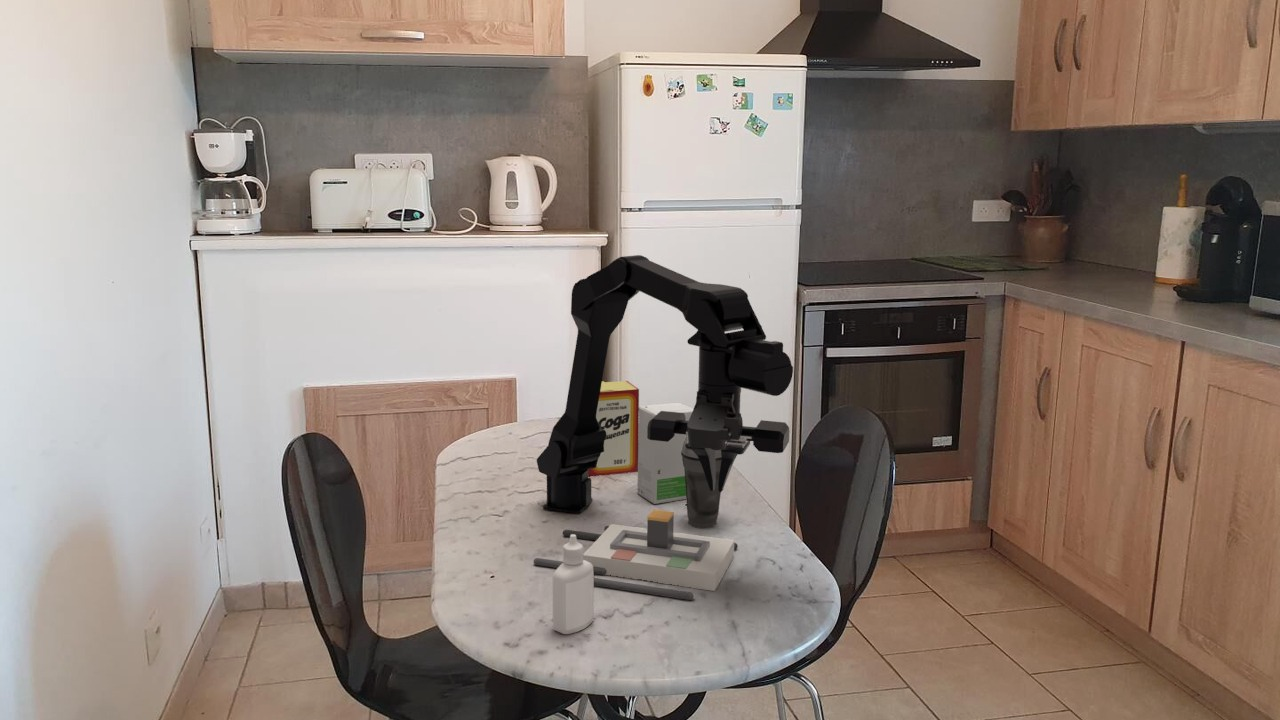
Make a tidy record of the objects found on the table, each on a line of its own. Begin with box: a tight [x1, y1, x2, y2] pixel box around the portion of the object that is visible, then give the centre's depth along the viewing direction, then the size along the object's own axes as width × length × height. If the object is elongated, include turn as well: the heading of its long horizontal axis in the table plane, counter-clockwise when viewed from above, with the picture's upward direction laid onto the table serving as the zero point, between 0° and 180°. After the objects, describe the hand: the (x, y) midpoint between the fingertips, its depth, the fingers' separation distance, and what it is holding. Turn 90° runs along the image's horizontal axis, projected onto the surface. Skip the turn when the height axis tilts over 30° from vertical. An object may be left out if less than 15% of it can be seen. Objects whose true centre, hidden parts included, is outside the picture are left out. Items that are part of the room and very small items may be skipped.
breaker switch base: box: [583, 523, 735, 592], centre depth 140 cm, size 19×12×3 cm, turn 72°
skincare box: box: [636, 402, 694, 505], centre depth 165 cm, size 8×7×16 cm
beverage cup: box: [681, 437, 722, 529], centre depth 153 cm, size 7×7×20 cm
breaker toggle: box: [646, 509, 675, 549], centre depth 139 cm, size 3×3×5 cm
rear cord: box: [562, 525, 739, 550], centre depth 147 cm, size 26×4×1 cm, turn 72°
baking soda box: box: [588, 380, 640, 478], centre depth 179 cm, size 10×6×16 cm
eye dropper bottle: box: [552, 534, 595, 635], centre depth 121 cm, size 4×6×12 cm
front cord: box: [533, 557, 695, 601], centre depth 134 cm, size 24×4×1 cm, turn 72°
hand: (716, 490), depth 135 cm, fingers closed
